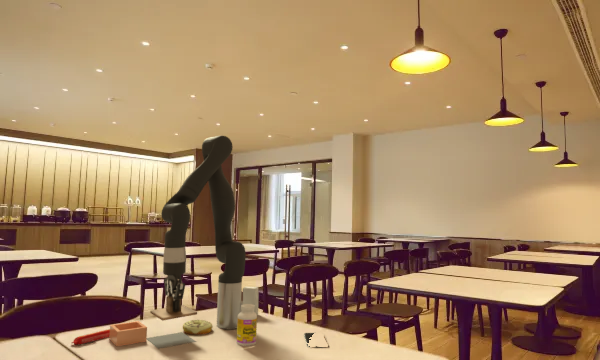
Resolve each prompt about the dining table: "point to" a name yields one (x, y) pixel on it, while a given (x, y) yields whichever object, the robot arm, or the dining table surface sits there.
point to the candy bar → (91, 337)
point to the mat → (170, 340)
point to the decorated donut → (197, 327)
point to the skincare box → (251, 297)
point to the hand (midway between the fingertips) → (173, 309)
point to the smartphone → (307, 336)
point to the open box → (128, 333)
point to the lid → (168, 311)
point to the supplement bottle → (247, 325)
